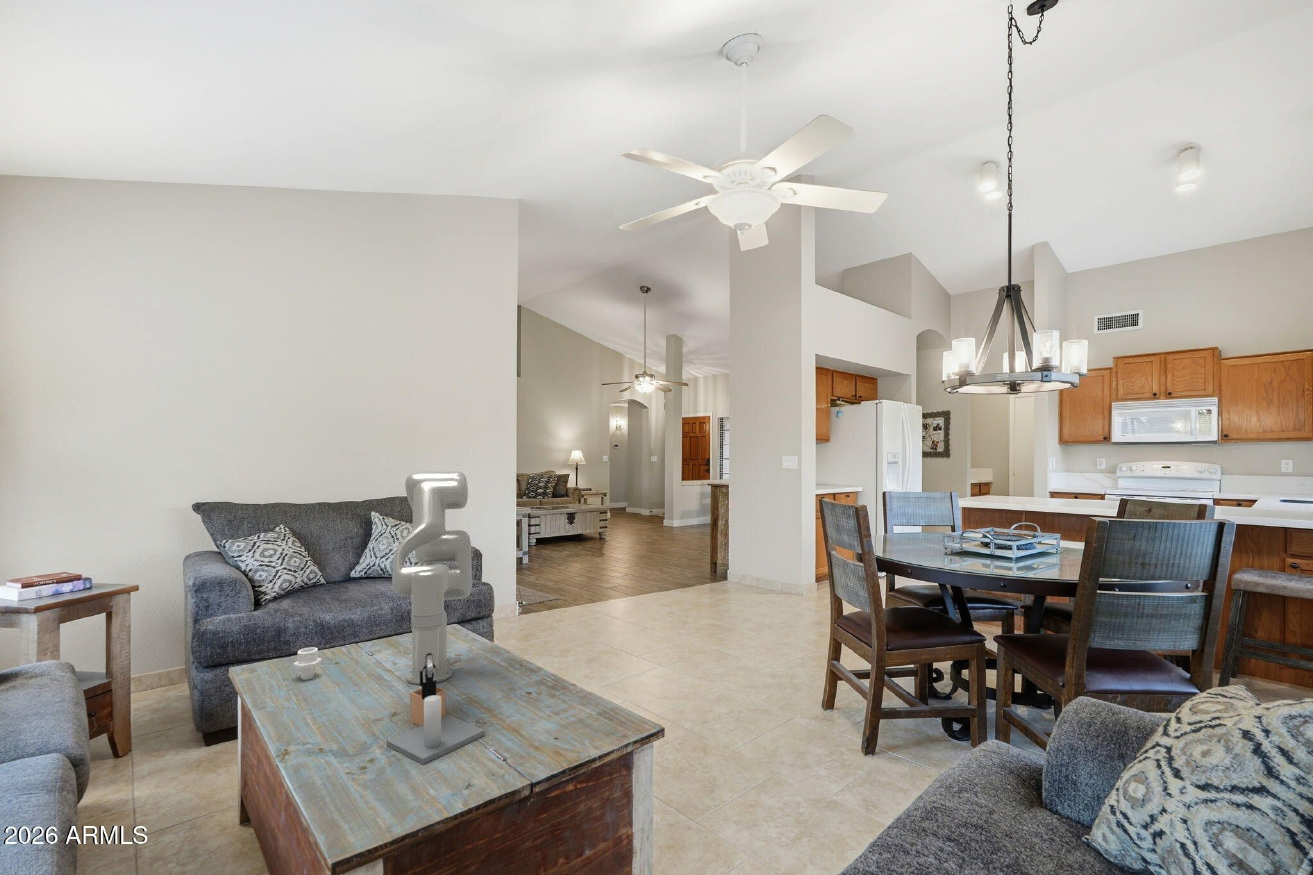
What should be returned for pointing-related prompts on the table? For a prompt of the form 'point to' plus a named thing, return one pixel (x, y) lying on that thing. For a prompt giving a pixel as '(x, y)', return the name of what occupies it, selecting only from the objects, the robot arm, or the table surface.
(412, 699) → the hollow square tube
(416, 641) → the robot arm
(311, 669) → the pipe fitting
